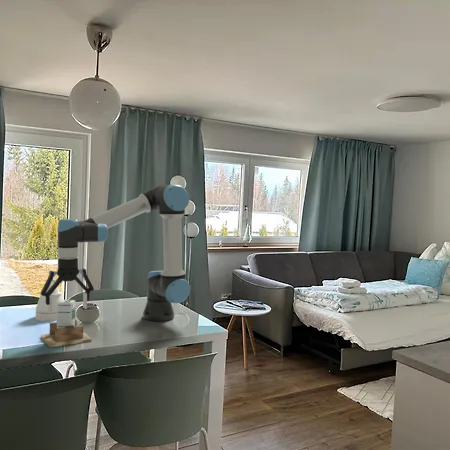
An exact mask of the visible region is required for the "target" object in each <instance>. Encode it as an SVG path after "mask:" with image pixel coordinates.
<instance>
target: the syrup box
mask: <svg viewBox="0 0 450 450" xmlns="http://www.w3.org/2000/svg"><path fill="white" fill-rule="evenodd" d="M75 320H76V300H75V299H63V300H61V301H60V302H59V303H57V320H56V322H57V329H58V328H65V326H70V325H74V326H75Z"/></svg>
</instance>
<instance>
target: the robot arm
mask: <svg viewBox="0 0 450 450" xmlns="http://www.w3.org/2000/svg"><path fill="white" fill-rule="evenodd" d="M189 203H190V196H189V193H188V191H187V190H186V189H185V187H183V186H182V185H179V184H175V183H174V184H160V185H157V186H154V187H152V188H150V189H149V190H146V191H144V192H142V193H140V194H139V195H138V197H135V198H133V199H130V200H129V201H126V202H124V203H122V204H120V205H117V206H115V207H112V208H110V209H108V210H106V211H103V212H101V213H99V214H97V215H94V216H92V217H90V218H86V219H85V220H80V221H79V220H78V219H76V218H61V219H59V220H58V223H57V224H58V225H57V257H58V259H57V270H56V271H55V270H49V272H48V277H47V279H46V281H45V283H44V285H43V287H42V289H41V291H40V292H41V293H40V292H39V293H40V294H41V295H42V296H45V297H46V304H47V305H48V312H49V313H52V296H50V295H51V294H52V293H53V291H54V290H55V289H56V288H57V287H58V288H59V286H60V284H62V283H63V282H73V281H75V282H76V283H77V284H78V285H79V286H80V287H81V288H82V289H83V290H84V291H83V292H82V304H83V305H82V307H83V309H85V310H87V309H88V301H89V300H90V294H91V292H92V291H94V290H95V288H94V285H93V284H92V281H91V280H90V278H89V276H88V274H87V270H86V268H80V269H79V258H78V256H79V250H78V249H79V243H101V242H106V241H107V240H108V238H109V229H110V228H112V227H115V226H117V225H119V224H121V223H124V222H127V221H128V220H131V219H133V218H135V217H137V216H139V215H142V214H144V213H151V212H154V211H157V210H158V211H159V212H158V213H159V216H160V217H161V218H162V245H163V246H162V248H163V249H162V251H163V257H162V259H163V269H162V270H152V271H148V274H147V289H146V290H147V291H146V293H147V294H146V303H145V306H144V309H143V313H142V319H144V320H147V321H153V322H165V321H170V320H173V319H174V318H175V312H174V308H173V305H172V304H181V303H184V301H185V300H186V299H187V298H188V297H189V296H190V292H191V286H190V283H189V281H188V280H187V274H186V271H184V269H183V238H182V237H183V232H182V231H183V229H182V227H183V223H182V219H183V217H184V216H185V214H186V208H187V206H188V205H189ZM79 274H81V275H82V278H83V279H84V281H85V284H87V286H86V285H85V284H84V283H83V282H82V281H81V280H80V278H79V277H78V275H79ZM56 275H57V277H58V278H56V279H57V280H56V281H55V283H54V284H53V285H52V286H51V287H50V289H49V290H48V288H49V286H50V284H51V282H52V280H53V279H54V278H55V277H56ZM47 290H48V291H47ZM40 294H39V295H40ZM41 295H40V296H41Z"/></svg>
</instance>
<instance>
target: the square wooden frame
mask: <svg viewBox="0 0 450 450" xmlns="http://www.w3.org/2000/svg"><path fill="white" fill-rule="evenodd" d="M77 322H78V321H77V319H75V326H74V325H70V326H65V328H58V329H57V321H55V322H54V321H52V322H49V333H44V334H41V335H40V337H41V339H42V340H43V342H44V343H45V345H46V346H47V347H48V348H55V347H62V345H63V346H68V345H69V344H70V345H76V344H83V343H88V342H92V341H93V340H92V338H91V337H90V336H89V335H88V334H87V333H86V332H84V325H77V324H78V323H77Z"/></svg>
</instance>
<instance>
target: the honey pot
mask: <svg viewBox="0 0 450 450" xmlns="http://www.w3.org/2000/svg"><path fill="white" fill-rule="evenodd" d="M56 280H57V278H53V280H52V282H51V284H50V286H49V288H48V290H49V289H50V287H51V286H52V285H53V284H54V283H55V281H56ZM48 290H47V291H48ZM40 293H41V291H40V292H39V299H38V301H37V305H36V307H35V319H36V321H40V320H41V321H42V322H54V321H55V322H56V321H57V303H59V302H60V301H61V300H64V299H63V297H62V295H63V292H62V290H60V289H59V286H58V287H57V288H56V289H55V290H54V291H53V293H52V294H51V295H50V296H52V313H49V312H48V305H47V304H46V297H45V296H42V295H41V294H40Z"/></svg>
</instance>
